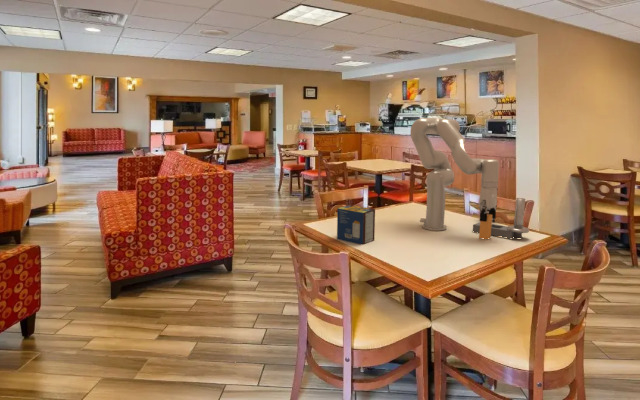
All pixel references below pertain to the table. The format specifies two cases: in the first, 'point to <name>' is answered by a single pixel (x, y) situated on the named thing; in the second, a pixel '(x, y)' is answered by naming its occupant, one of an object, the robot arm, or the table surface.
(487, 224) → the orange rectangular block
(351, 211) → the protein box
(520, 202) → the rosette post
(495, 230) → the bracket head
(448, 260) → the table surface
